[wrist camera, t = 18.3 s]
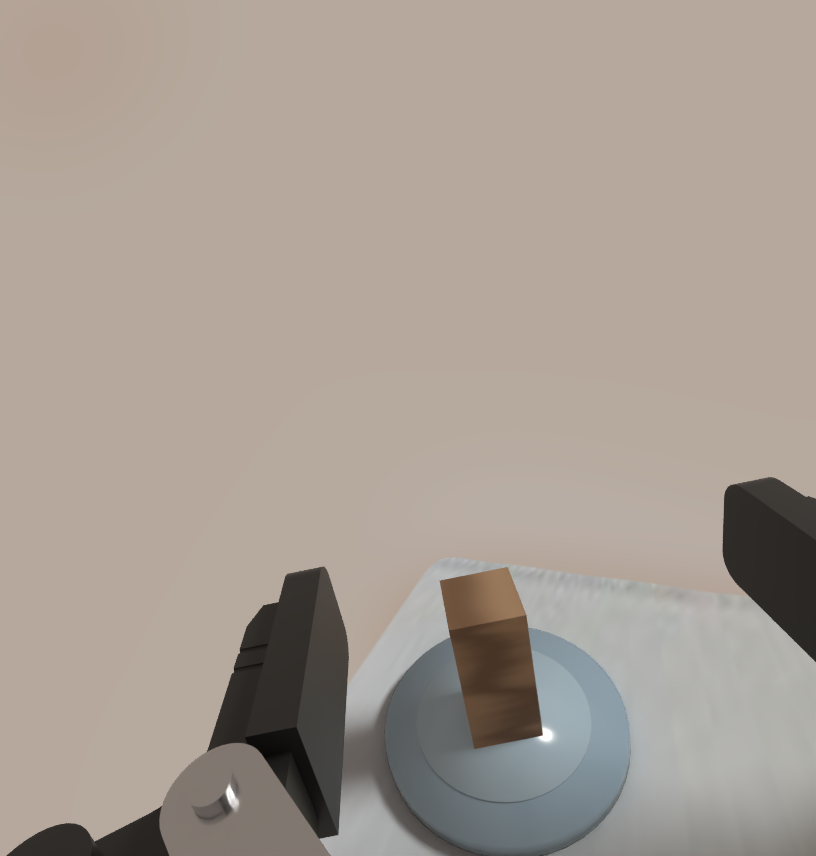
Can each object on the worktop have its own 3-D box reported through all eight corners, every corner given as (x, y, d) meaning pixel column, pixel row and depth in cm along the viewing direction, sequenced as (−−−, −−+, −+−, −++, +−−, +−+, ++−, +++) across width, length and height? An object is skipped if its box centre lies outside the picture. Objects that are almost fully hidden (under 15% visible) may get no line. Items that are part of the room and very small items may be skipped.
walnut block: (524, 678, 42) (507, 567, 38) (543, 735, 37) (526, 615, 33) (463, 691, 42) (439, 580, 38) (474, 749, 37) (448, 630, 33)
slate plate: (630, 650, 44) (630, 638, 43) (630, 901, 29) (629, 887, 28) (431, 624, 51) (428, 614, 51) (347, 813, 36) (342, 801, 36)
